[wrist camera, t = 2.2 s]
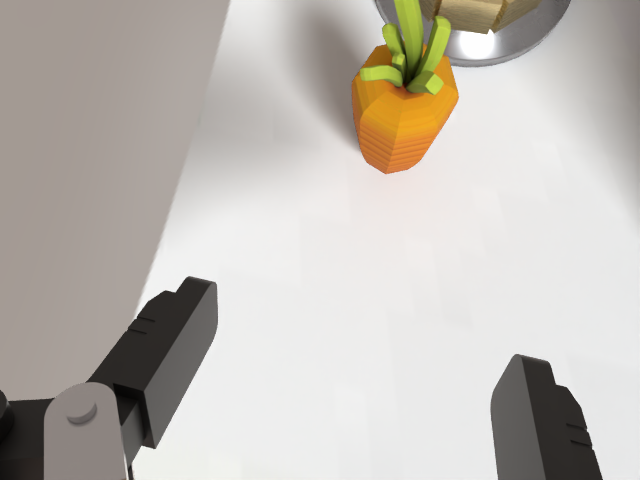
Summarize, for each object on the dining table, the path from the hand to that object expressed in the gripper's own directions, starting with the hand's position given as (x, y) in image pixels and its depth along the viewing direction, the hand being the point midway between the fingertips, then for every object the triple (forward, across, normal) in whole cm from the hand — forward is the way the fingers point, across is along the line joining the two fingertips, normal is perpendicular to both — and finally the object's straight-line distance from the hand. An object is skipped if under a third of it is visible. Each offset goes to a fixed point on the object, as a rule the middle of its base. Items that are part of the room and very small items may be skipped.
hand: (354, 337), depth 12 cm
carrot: (+20, 0, +4) cm, 21 cm away
